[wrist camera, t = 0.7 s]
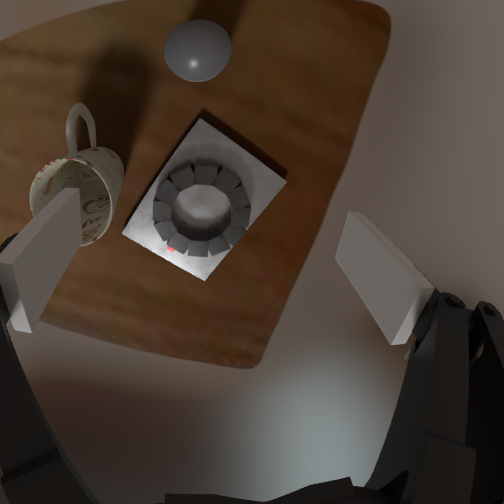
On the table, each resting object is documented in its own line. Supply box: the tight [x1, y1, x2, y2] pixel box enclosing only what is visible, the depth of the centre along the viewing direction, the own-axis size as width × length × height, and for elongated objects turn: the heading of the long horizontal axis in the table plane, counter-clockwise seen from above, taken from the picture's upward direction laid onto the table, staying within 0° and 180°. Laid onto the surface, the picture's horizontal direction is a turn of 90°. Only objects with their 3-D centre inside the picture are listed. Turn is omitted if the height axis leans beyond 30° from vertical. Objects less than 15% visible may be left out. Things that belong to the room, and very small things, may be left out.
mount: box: [122, 117, 287, 281], centre depth 35 cm, size 12×16×3 cm
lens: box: [164, 19, 232, 82], centre depth 24 cm, size 5×5×10 cm
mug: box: [30, 103, 124, 247], centre depth 27 cm, size 8×13×10 cm, turn 1°
